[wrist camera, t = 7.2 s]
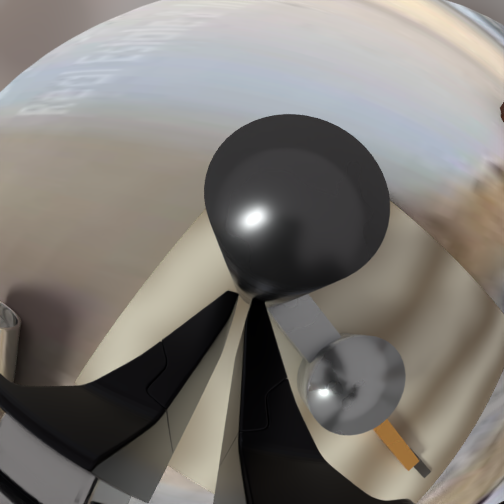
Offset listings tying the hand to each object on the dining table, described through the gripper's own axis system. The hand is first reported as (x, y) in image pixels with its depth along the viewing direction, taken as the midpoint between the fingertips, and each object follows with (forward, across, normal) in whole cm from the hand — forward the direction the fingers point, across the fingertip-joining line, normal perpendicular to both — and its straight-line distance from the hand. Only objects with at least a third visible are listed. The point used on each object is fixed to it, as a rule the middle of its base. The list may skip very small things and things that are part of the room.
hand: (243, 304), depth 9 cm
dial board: (+3, -7, +7) cm, 11 cm away
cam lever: (+2, -6, +6) cm, 9 cm away
